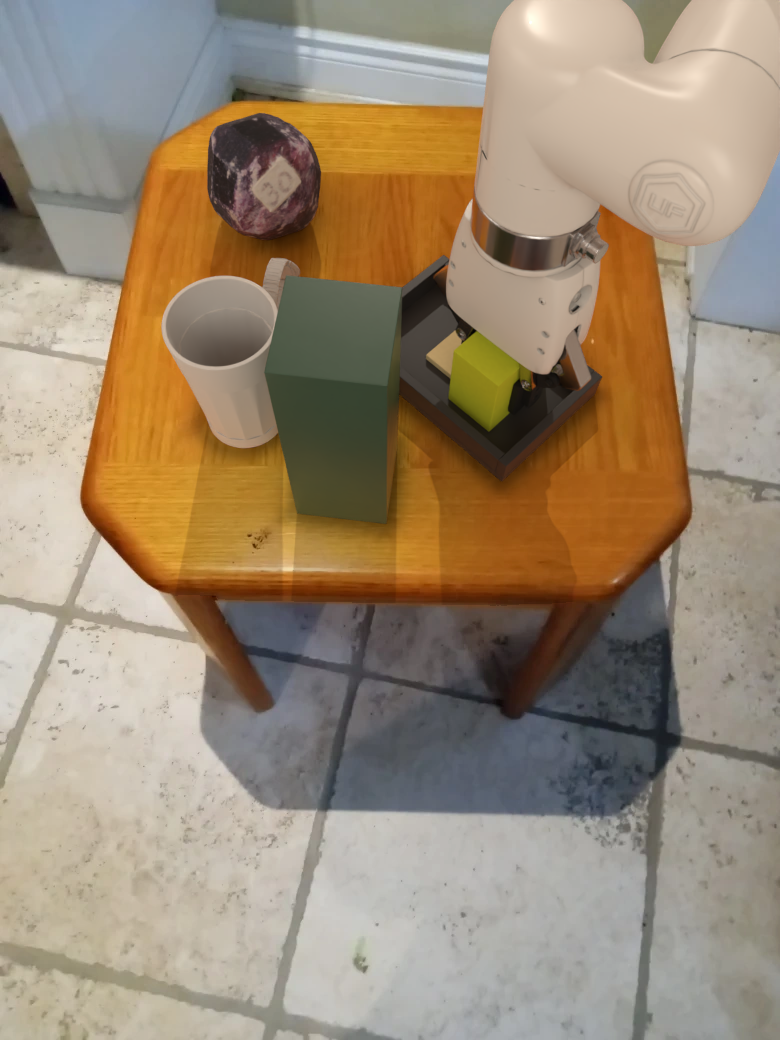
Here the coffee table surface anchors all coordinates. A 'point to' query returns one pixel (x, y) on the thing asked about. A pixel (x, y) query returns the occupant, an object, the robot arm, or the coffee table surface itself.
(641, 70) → the robot arm
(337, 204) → the coffee table surface
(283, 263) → the wristwatch
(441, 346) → the beige flat square block
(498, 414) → the yellow-green rectangular block
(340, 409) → the tall green box
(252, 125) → the mineral specimen
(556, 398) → the pan
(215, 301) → the cup
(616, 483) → the coffee table surface
